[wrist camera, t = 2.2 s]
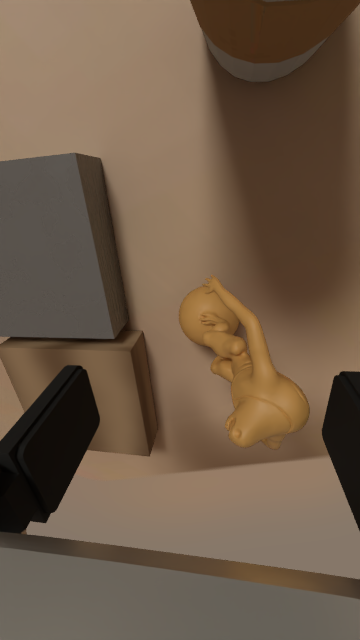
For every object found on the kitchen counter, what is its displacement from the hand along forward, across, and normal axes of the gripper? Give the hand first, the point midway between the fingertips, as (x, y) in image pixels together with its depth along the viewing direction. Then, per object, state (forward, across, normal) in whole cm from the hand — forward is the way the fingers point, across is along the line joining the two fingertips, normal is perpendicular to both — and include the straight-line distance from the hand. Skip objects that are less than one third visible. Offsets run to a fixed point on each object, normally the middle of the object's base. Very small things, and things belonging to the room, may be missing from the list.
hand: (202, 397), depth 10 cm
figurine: (+10, -1, 0) cm, 10 cm away
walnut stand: (+10, +11, +8) cm, 17 cm away
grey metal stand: (+10, +12, -4) cm, 16 cm away
